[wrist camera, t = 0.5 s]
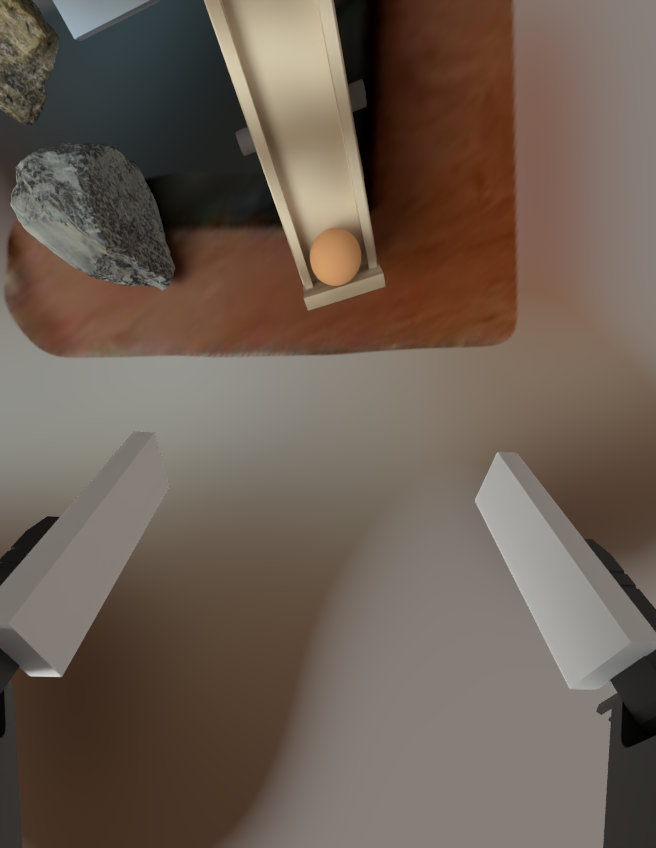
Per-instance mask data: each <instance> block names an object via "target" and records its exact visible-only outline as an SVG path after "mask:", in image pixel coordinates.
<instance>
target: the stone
mask: <svg viewBox="0 0 656 848" xmlns="http://www.w3.org/2000/svg"><path fill="white" fill-rule="evenodd" d="M15 169H16V173H15V174H16V178H17V179H16V181H17V185H16V186H15V188H14V189H13V192H12V193H11V199H12V200H11V206H12V208H13V210H14V211H15V213H16V214H17V218H18V220H19V221H20V223H21V224H22V226H23V227H24V229H25V230H26V231H28V232H29V233H30V234H31V235H33V236H34V237H35V238H36V239H38V240H39V241H40V242H41V243H43V244H44V245H46V246H47V247H48V248H49V249H50V250H51V251H52V252H54V253H55V254H57V255H58V256H59V257H61V258H62V259H63V260H65V261H66V262H68V263H69V264H70V265H72V266H73V267H75V268H76V269H78V270H82V271H84V272H85V273H86V274H88V275H89V276H91V277H94V278H96V279H99V280H104V281H109V282H113V283H118V284H120V285H128V286H134V285H141V284H142V285H143V286H147V287H148V286H155V287H158V288H160V289H161V290H165V289H166V288H167V287H168V286H169V285H170V283H171V282H172V280H173V276H174V270H175V266H174V263H173V260H172V258H171V256H170V250H169V248H168V246H167V244H166V241H165V233H164V230H163V225H162V221H161V218H160V214H159V211H158V207H157V204H156V201H155V198H154V196H153V194H152V193H151V191H150V188H149V187H148V185H147V183H146V181H145V179H144V176H143V174H142V173H141V171H140V169H139V167H138V165H137V164H136V163H135V162H133V161H129V160H127V159H126V157H125V156H124V155H123V154H122V153H121V152H120V151H119V150H117V149H115V148H114V147H112V146H109V145H107V144H83V145H79V144H77V143H63V144H59V145H56V146H52V147H48V148H44V149H39V150H37V151H35V152H33V153H32V154H30V155H29V156H27V157H26V158H25V159H24V160H22V161H21V162H20V164H18V165H17V166H15Z"/></svg>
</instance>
